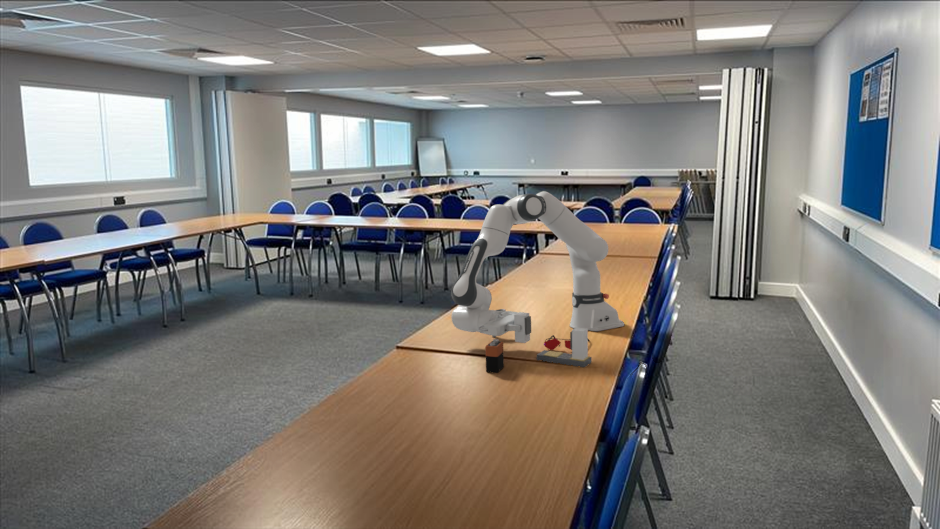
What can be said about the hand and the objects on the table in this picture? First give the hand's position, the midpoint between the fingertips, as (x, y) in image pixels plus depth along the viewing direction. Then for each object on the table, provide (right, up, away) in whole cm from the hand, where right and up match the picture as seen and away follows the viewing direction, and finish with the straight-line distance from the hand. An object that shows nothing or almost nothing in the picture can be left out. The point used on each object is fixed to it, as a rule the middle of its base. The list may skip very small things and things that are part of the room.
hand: (524, 326), depth 234 cm
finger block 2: (+18, -10, -10) cm, 23 cm away
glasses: (+17, -9, +13) cm, 23 cm away
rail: (+13, -12, -6) cm, 19 cm away
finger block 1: (0, -5, +1) cm, 6 cm away
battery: (-11, -14, -12) cm, 21 cm away
